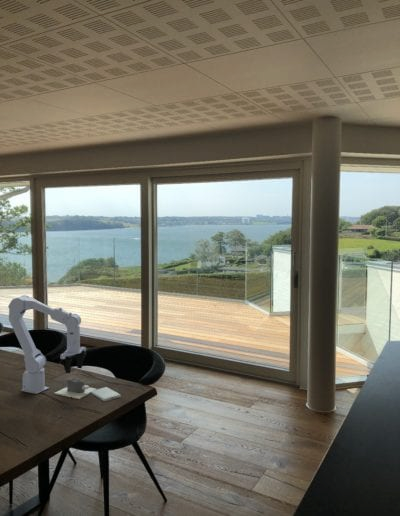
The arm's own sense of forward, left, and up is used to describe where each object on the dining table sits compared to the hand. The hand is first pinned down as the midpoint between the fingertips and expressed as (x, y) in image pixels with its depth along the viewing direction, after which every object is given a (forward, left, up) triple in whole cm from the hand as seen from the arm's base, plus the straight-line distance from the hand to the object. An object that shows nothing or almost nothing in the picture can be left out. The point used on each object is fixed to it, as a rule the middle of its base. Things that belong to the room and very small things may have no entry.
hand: (73, 370), depth 197 cm
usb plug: (+4, -1, -9) cm, 10 cm away
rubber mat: (+2, -1, -9) cm, 10 cm away
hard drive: (+17, +2, -10) cm, 20 cm away
